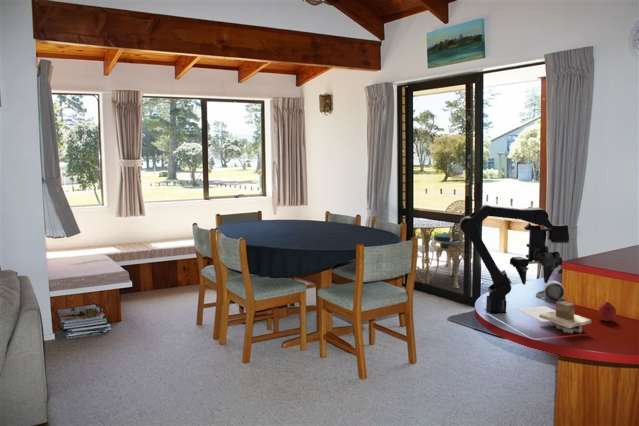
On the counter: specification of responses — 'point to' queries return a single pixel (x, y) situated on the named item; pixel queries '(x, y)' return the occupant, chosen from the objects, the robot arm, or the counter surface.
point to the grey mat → (536, 311)
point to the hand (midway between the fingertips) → (534, 283)
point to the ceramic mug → (552, 291)
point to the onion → (607, 311)
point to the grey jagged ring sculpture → (566, 329)
